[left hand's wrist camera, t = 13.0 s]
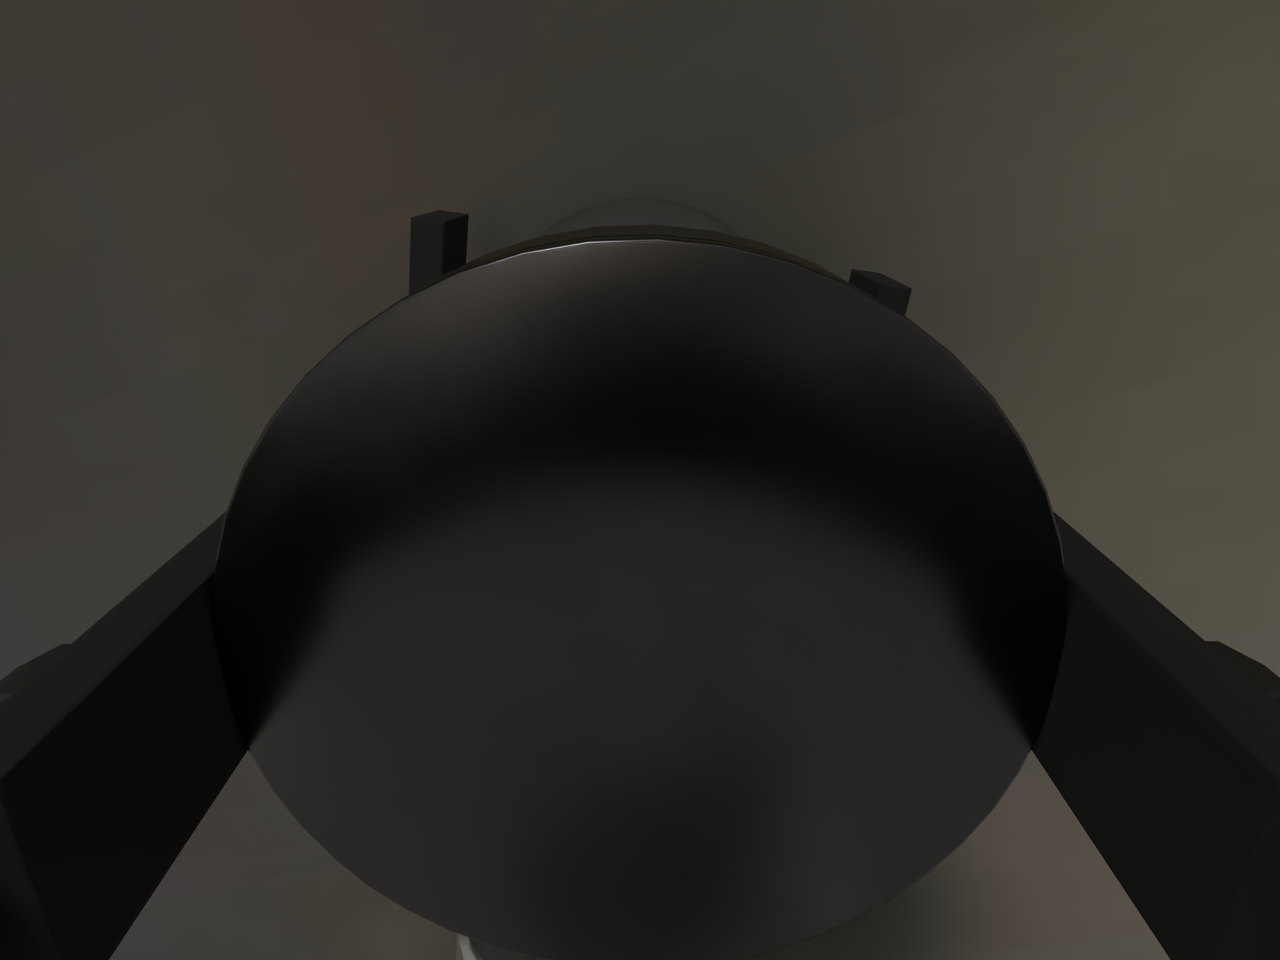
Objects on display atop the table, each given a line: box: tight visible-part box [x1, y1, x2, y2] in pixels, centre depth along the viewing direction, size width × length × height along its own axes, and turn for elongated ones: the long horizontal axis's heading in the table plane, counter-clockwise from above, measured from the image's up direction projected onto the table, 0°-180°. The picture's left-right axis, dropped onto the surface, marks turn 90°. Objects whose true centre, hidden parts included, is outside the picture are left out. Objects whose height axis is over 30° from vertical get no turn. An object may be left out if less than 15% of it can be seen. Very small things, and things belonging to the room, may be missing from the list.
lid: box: [213, 224, 1067, 960], centre depth 11 cm, size 11×11×2 cm
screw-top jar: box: [541, 199, 742, 238], centre depth 19 cm, size 10×10×17 cm
